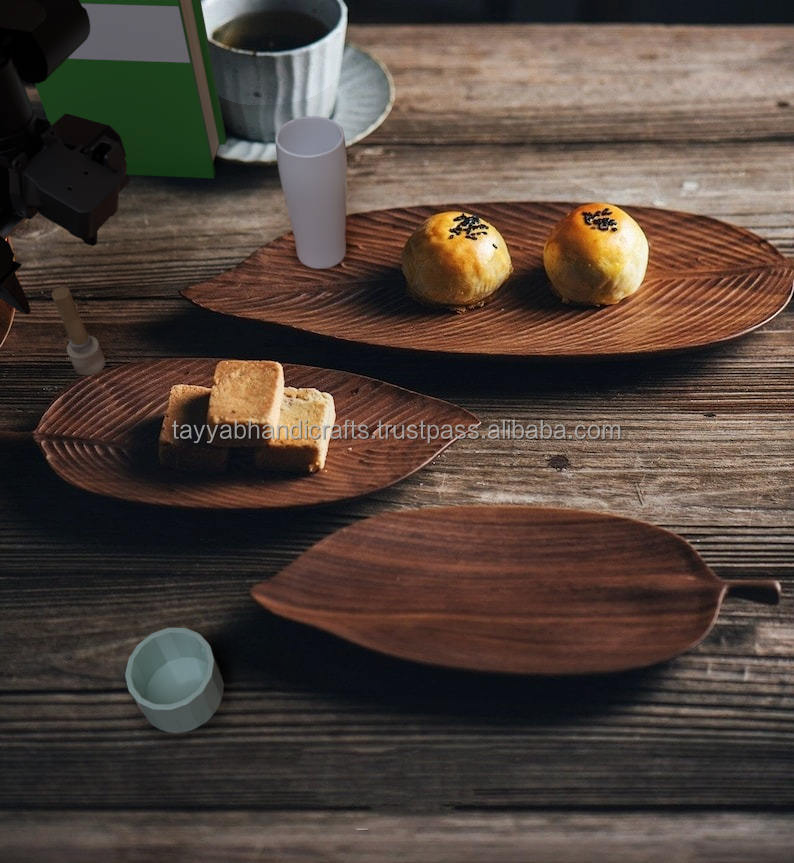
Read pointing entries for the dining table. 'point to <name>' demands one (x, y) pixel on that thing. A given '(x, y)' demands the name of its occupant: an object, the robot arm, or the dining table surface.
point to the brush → (78, 336)
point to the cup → (175, 679)
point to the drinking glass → (314, 187)
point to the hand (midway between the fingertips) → (59, 277)
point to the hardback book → (145, 85)
